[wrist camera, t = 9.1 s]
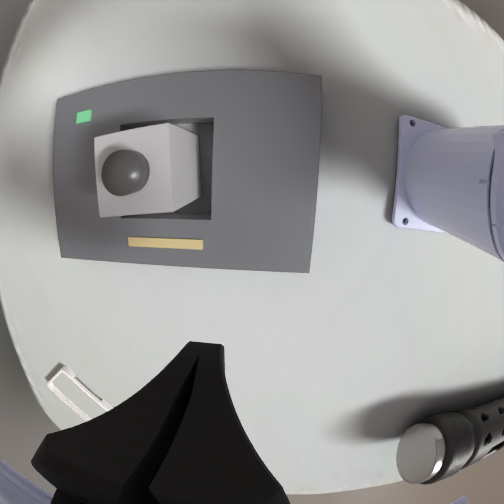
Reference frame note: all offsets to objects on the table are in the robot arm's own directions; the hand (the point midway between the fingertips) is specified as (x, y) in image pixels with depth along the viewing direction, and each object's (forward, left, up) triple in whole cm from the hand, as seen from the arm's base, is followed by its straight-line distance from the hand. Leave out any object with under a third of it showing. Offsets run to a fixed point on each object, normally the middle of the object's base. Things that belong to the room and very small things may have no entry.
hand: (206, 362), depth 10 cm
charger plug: (+4, -7, -10) cm, 13 cm away
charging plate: (+4, -7, -9) cm, 12 cm away
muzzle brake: (-35, +22, -10) cm, 42 cm away
